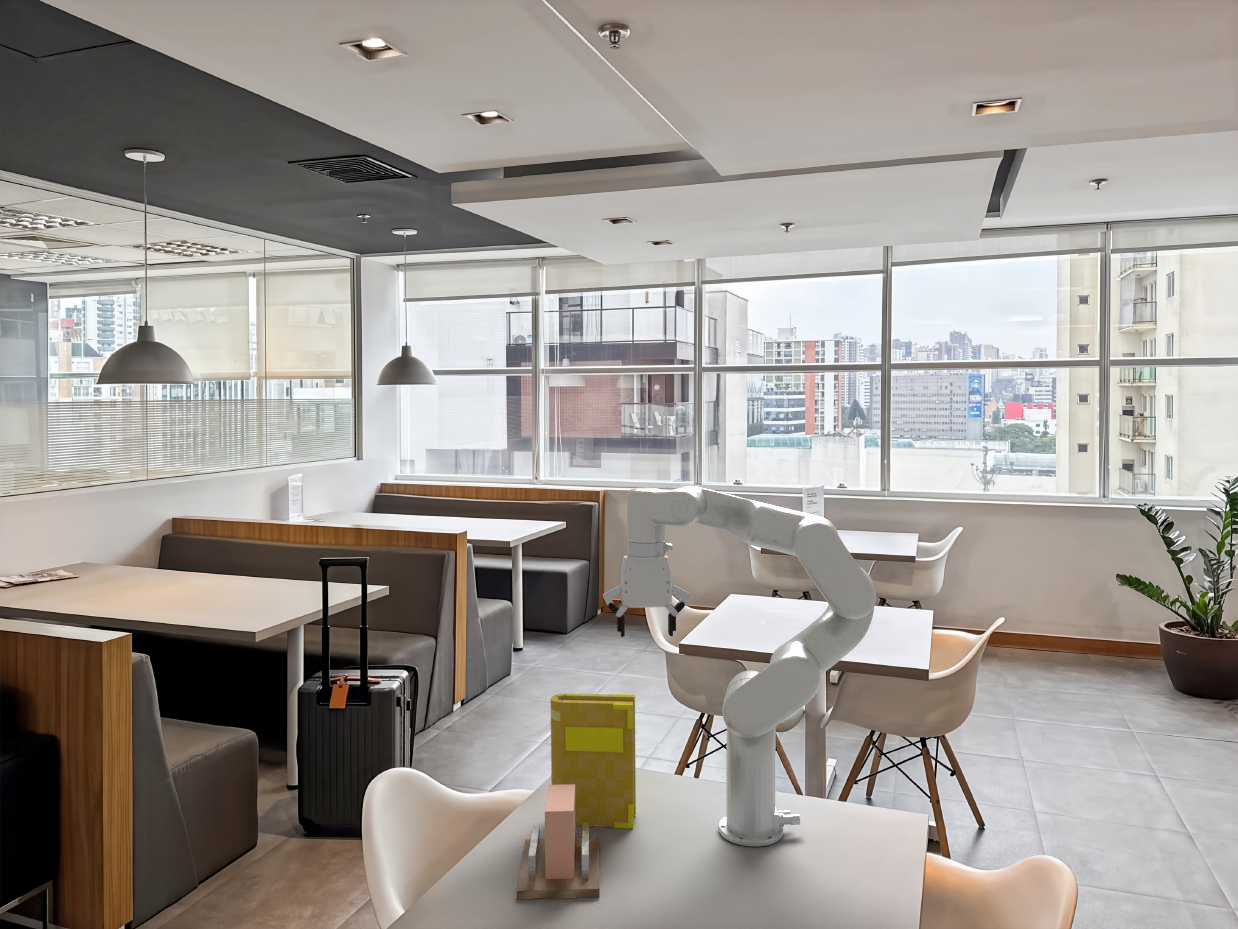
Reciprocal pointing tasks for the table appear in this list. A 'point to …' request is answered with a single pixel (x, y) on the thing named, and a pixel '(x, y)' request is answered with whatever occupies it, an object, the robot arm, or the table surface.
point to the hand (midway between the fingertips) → (646, 635)
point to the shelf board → (560, 886)
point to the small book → (560, 832)
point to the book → (596, 755)
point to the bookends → (535, 850)
